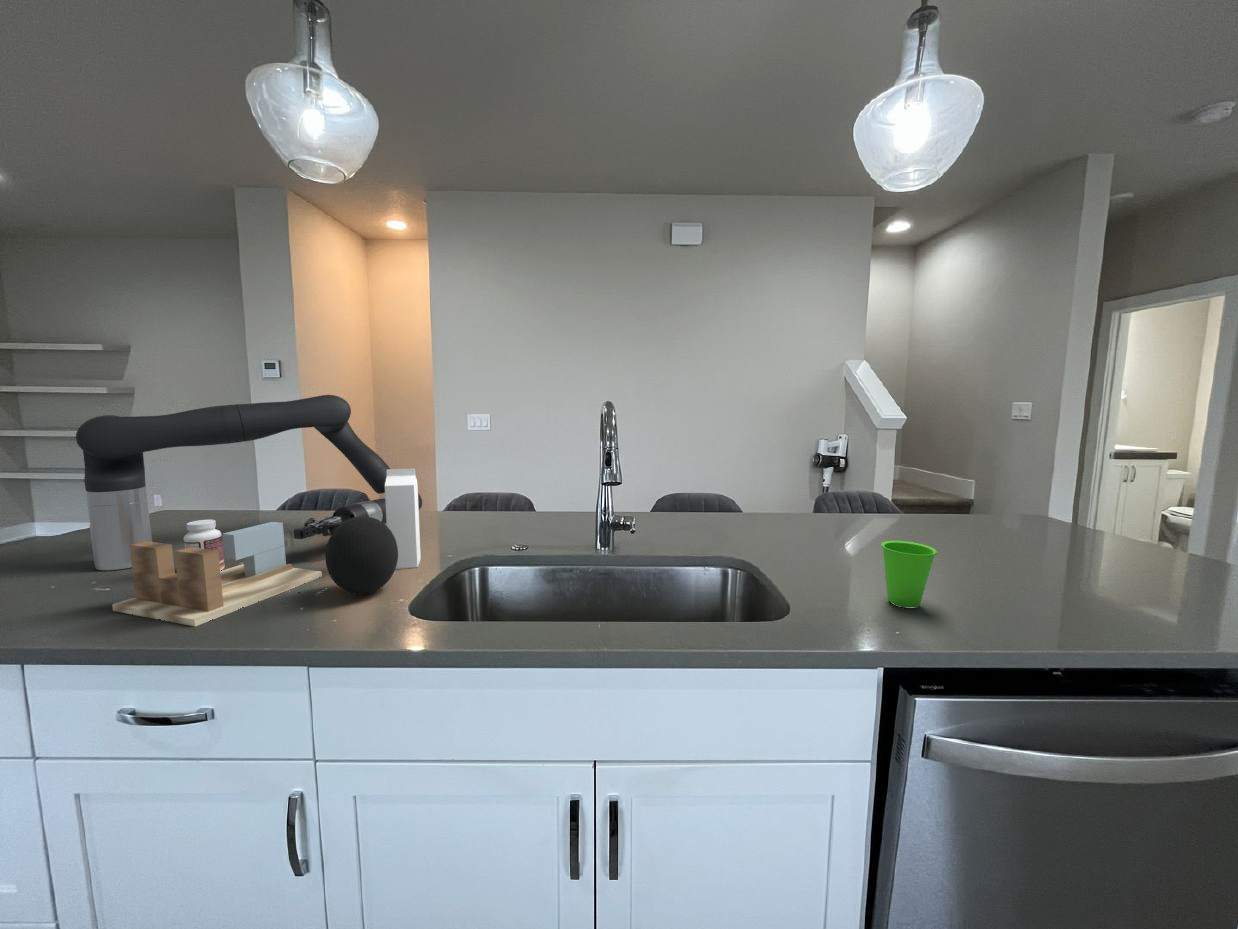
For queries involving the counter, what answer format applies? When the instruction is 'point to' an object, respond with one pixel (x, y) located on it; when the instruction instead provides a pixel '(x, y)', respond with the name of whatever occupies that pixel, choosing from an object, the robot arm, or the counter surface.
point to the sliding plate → (256, 547)
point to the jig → (198, 584)
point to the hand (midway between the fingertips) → (296, 534)
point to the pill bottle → (205, 537)
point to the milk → (403, 515)
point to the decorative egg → (361, 555)
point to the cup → (906, 571)
